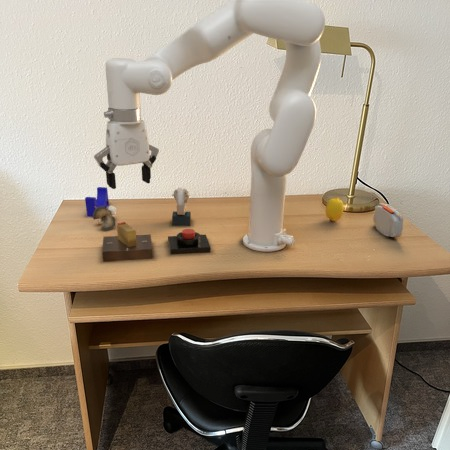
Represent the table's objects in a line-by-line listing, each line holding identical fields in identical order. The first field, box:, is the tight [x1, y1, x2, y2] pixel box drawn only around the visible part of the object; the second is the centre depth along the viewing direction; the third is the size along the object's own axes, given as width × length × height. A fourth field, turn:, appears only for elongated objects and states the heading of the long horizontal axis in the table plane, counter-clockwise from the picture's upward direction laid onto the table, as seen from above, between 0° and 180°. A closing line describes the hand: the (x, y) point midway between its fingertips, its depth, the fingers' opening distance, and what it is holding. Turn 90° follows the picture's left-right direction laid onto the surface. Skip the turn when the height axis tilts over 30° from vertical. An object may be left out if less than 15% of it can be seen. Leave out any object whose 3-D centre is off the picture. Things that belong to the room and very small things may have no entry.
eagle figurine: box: [92, 204, 117, 232], centre depth 150 cm, size 8×7×9 cm
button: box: [181, 228, 196, 239], centre depth 137 cm, size 4×4×2 cm
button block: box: [167, 231, 211, 256], centre depth 138 cm, size 11×9×4 cm
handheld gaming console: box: [372, 202, 404, 238], centre depth 149 cm, size 14×3×8 cm, turn 12°
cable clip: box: [84, 186, 110, 218], centre depth 161 cm, size 12×4×6 cm, turn 172°
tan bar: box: [116, 221, 137, 247], centre depth 132 cm, size 6×2×5 cm, turn 36°
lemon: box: [325, 196, 344, 222], centre depth 157 cm, size 6×6×8 cm
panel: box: [101, 233, 154, 263], centre depth 134 cm, size 13×11×3 cm
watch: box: [171, 187, 192, 227], centre depth 152 cm, size 6×8×11 cm
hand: (129, 184), depth 127 cm, fingers open, 9 cm apart
